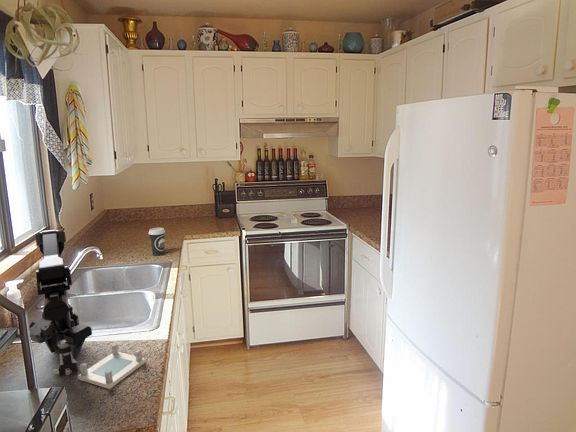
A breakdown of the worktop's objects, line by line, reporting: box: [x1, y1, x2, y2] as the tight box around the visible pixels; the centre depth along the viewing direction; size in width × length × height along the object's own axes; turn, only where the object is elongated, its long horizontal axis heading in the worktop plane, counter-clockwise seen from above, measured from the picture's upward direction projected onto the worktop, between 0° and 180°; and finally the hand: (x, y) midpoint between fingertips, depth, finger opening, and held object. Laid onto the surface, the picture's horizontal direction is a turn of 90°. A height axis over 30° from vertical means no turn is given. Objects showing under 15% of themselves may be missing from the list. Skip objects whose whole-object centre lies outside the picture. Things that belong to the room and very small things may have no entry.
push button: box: [52, 339, 79, 376], centre depth 116 cm, size 7×5×10 cm
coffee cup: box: [147, 227, 166, 257], centre depth 229 cm, size 10×10×15 cm
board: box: [77, 343, 146, 390], centre depth 118 cm, size 12×14×4 cm
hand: (64, 355), depth 116 cm, fingers open, 9 cm apart
